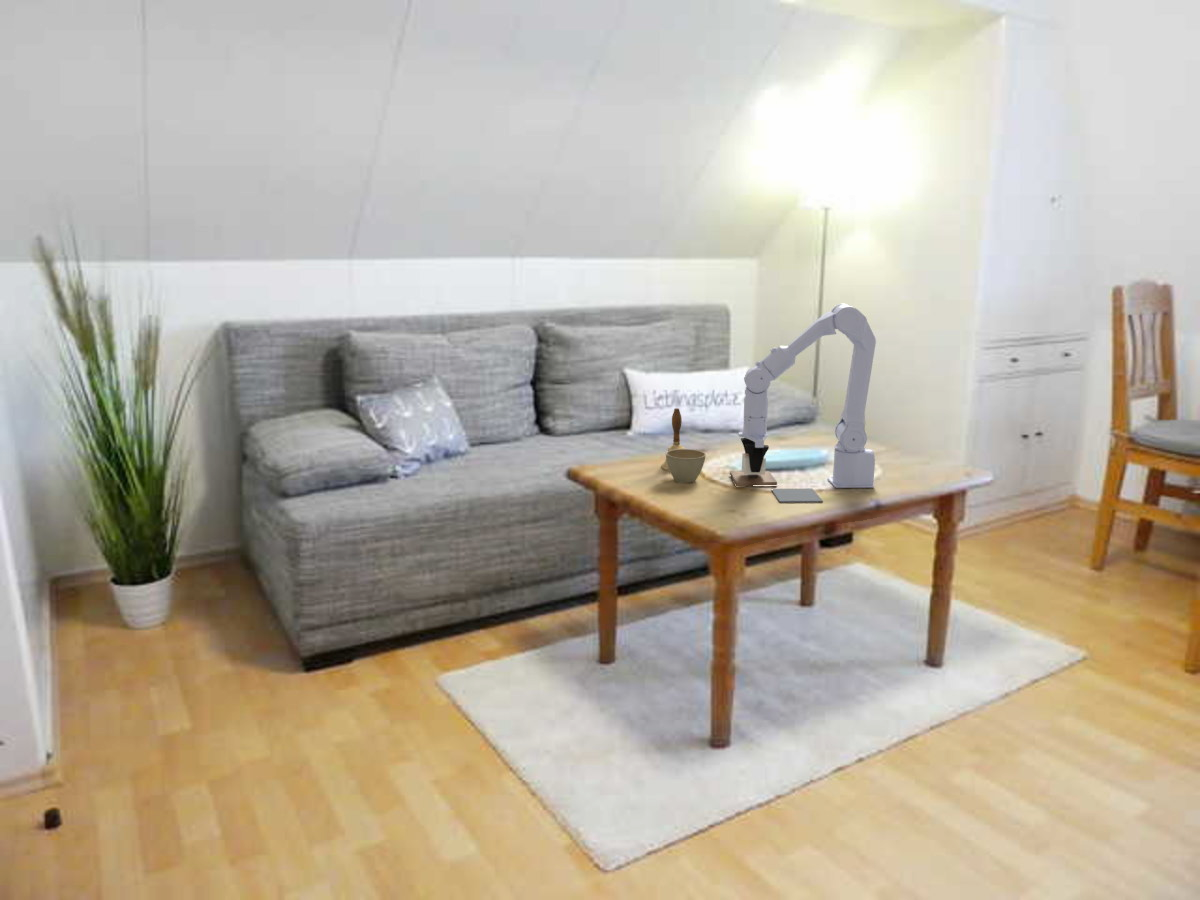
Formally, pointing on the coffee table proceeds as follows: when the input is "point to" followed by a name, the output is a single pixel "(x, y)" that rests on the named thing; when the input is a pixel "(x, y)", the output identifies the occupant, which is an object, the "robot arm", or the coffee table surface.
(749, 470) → the cream cube
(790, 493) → the mat
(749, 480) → the post stand
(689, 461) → the flower pot
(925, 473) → the coffee table surface
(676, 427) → the hand bell
